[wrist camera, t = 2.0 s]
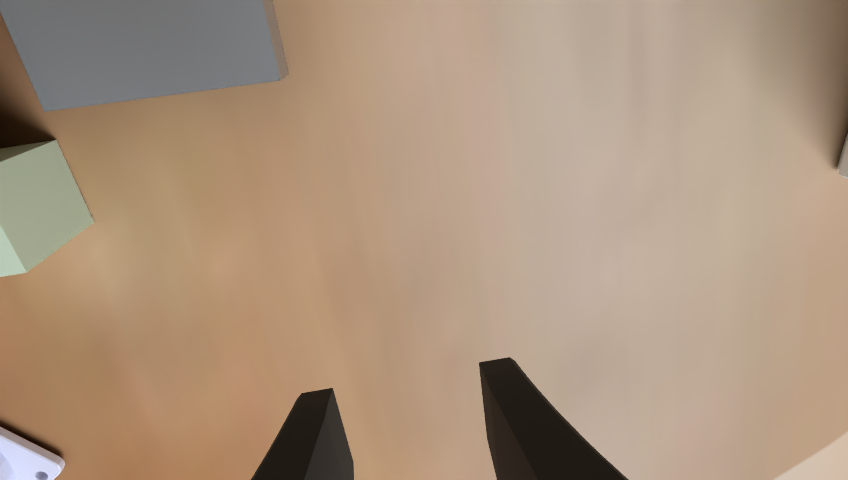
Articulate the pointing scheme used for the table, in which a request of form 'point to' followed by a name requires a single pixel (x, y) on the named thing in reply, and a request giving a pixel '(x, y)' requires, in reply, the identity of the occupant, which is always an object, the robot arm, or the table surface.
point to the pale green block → (37, 205)
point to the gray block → (142, 47)
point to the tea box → (844, 160)
